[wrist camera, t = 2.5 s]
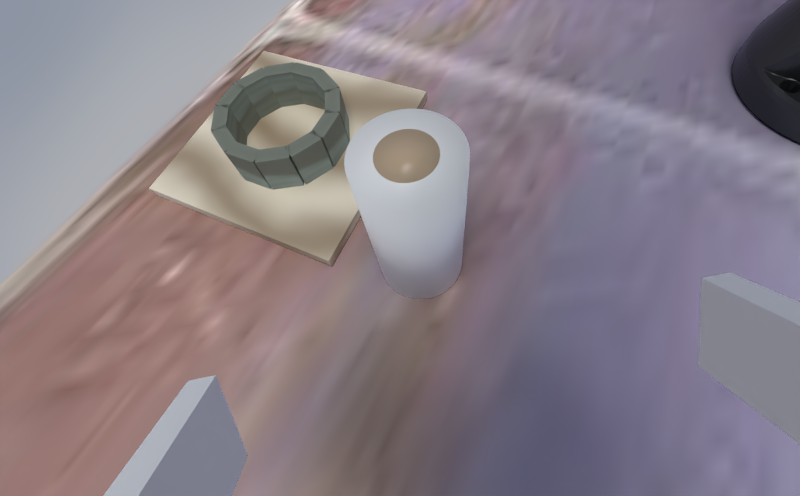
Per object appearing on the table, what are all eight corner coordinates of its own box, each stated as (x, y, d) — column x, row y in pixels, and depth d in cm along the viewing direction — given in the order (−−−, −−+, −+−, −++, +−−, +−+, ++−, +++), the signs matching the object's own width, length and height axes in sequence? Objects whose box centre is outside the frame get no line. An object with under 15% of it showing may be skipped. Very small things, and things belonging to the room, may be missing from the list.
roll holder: (267, 59, 42) (248, 18, 38) (426, 100, 37) (424, 57, 33) (156, 194, 35) (119, 162, 31) (332, 266, 30) (314, 238, 26)
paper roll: (401, 215, 32) (378, 96, 21) (473, 240, 30) (488, 125, 19) (367, 280, 30) (321, 185, 19) (443, 312, 28) (440, 226, 17)
